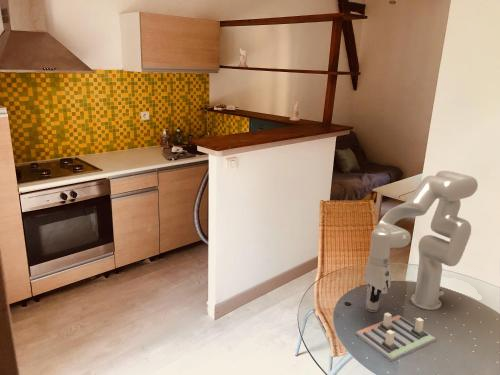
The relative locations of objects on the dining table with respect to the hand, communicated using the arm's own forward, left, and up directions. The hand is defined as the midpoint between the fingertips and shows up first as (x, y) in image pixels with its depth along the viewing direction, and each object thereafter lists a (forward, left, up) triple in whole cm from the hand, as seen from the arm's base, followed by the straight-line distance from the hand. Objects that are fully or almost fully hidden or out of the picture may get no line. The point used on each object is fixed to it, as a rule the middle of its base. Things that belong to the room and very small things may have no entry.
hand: (374, 301), depth 164 cm
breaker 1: (0, +7, -9) cm, 11 cm away
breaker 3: (-8, +16, -9) cm, 20 cm away
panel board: (0, +12, -10) cm, 15 cm away
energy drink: (-7, -7, -10) cm, 15 cm away
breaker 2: (+8, +16, -9) cm, 19 cm away
